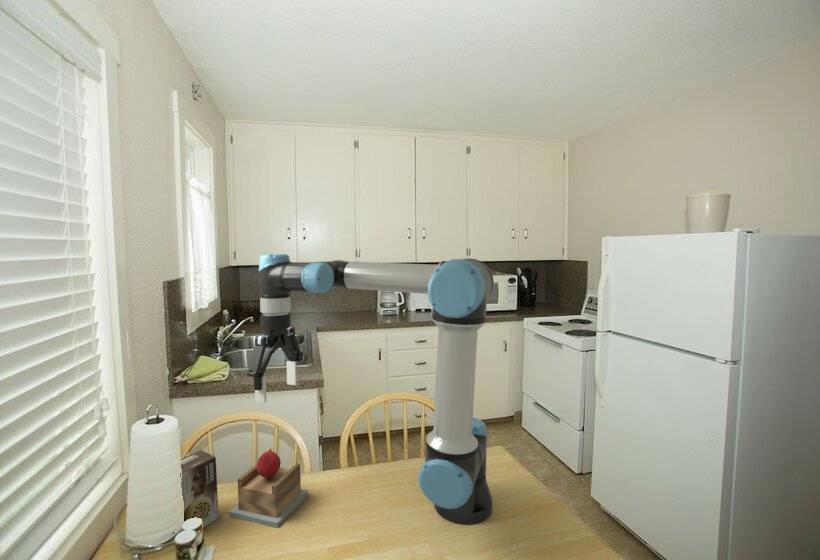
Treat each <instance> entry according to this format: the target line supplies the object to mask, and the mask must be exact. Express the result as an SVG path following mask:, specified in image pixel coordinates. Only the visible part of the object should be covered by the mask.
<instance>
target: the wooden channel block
mask: <svg viewBox="0 0 820 560" xmlns="http://www.w3.org/2000/svg"><path fill="white" fill-rule="evenodd" d="M301 482H302V481H301V464H300V463H295V465H293V466H292V467H291V468H290V469H289V468H285V467H280V469H279V470H278V472H277V473H276V474H275V475H274V476H272V477H271V478H270V479H268V478H264V477H262V476H261V475H260V474H259V473H258V471H257V464H255V465H254V466H253V467H251V468H250V469H249V470H248V471H246V472H244V474H242V475H241V476H240V477H239V478H237V497H238V498H237V499H238V503H237V505H238V507H239V510H243V511H247V512H252V513H256V514H260V515H265V516H269V517H274V518H277V517H278V516H279V515H280V514H281V513H282V511H283V510H284V509H285V508H286V507H287V506H288V505H289V504H290V503H291V502H292V501H293V500H294V499H295V498H296V497H297V496H298V495H299V494H300V493H301V489H302V488H301V486H302V485H301Z"/></svg>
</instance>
